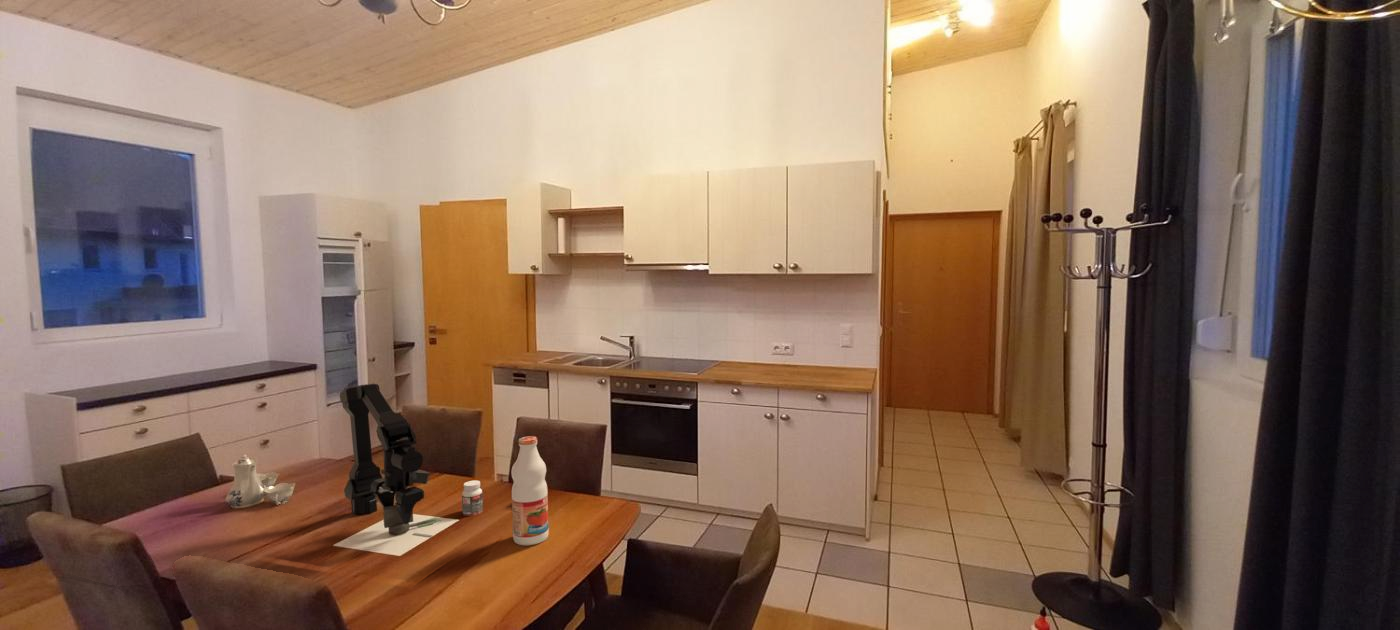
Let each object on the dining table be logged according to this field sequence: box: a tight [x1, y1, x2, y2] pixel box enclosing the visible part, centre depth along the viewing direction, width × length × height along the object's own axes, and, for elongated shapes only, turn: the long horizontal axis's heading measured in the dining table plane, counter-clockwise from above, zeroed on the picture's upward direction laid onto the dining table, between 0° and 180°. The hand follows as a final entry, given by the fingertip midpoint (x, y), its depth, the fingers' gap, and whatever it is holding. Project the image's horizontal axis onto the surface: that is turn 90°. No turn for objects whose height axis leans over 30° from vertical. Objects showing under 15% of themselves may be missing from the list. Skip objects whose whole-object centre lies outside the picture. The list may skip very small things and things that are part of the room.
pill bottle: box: [461, 480, 484, 517], centre depth 170 cm, size 6×6×10 cm
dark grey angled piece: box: [382, 504, 436, 535], centre depth 158 cm, size 13×5×7 cm, turn 125°
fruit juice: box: [511, 435, 550, 546], centre depth 153 cm, size 9×9×28 cm
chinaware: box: [225, 454, 297, 509], centre depth 184 cm, size 28×17×17 cm, turn 57°
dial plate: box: [333, 513, 460, 557], centre depth 157 cm, size 22×22×1 cm
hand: (398, 519), depth 157 cm, fingers open, 9 cm apart
